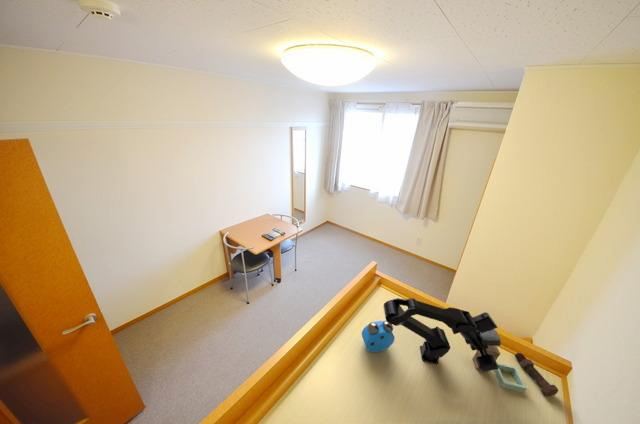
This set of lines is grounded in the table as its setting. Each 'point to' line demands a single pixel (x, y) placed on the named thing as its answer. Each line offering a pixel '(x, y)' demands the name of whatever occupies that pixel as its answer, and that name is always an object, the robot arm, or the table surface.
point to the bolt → (536, 375)
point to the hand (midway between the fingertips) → (489, 357)
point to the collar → (520, 385)
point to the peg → (491, 351)
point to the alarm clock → (378, 336)
